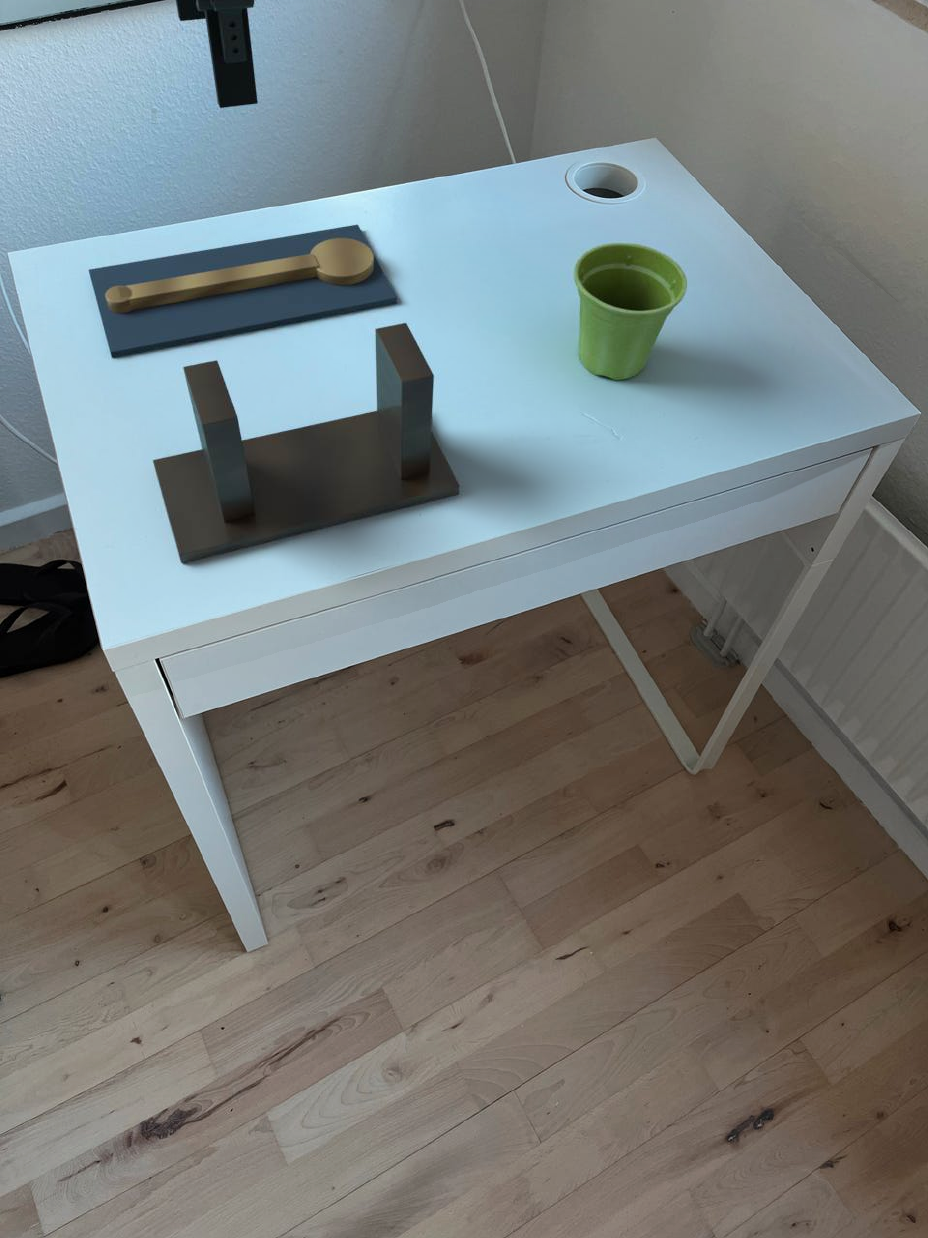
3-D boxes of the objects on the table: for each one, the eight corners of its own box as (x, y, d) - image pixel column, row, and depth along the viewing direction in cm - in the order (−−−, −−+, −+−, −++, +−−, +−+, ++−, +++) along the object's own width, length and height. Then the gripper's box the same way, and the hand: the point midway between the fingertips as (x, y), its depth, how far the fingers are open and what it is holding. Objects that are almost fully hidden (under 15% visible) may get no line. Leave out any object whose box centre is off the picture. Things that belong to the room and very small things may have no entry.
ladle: (114, 328, 82) (110, 317, 81) (103, 287, 85) (99, 275, 84) (382, 278, 88) (382, 267, 88) (362, 242, 92) (362, 231, 91)
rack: (181, 563, 69) (149, 459, 60) (155, 468, 74) (121, 358, 65) (459, 494, 75) (468, 388, 66) (417, 410, 80) (420, 301, 71)
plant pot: (597, 407, 81) (617, 324, 74) (539, 342, 86) (553, 258, 79) (683, 375, 84) (709, 293, 77) (622, 314, 89) (643, 231, 82)
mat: (111, 357, 81) (110, 352, 81) (89, 274, 87) (88, 269, 87) (397, 302, 88) (397, 297, 87) (358, 229, 94) (357, 224, 93)
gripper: (283, -277, 48) (311, 137, 65) (181, -390, 60) (227, -19, 78) (132, -275, 46) (202, 151, 63) (60, -392, 58) (135, -11, 76)
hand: (216, 58), depth 70 cm, fingers open, 13 cm apart
